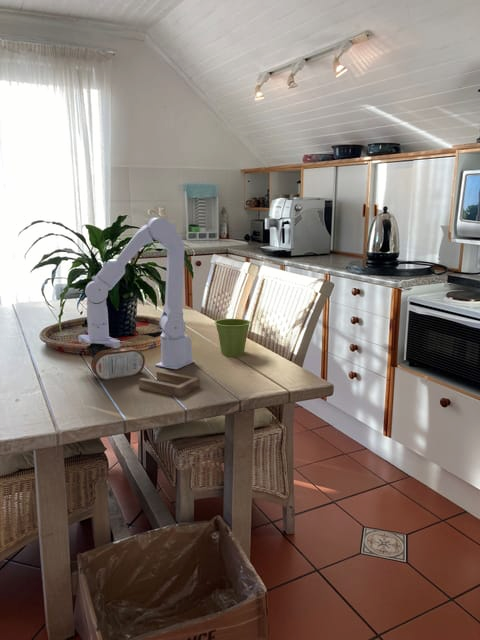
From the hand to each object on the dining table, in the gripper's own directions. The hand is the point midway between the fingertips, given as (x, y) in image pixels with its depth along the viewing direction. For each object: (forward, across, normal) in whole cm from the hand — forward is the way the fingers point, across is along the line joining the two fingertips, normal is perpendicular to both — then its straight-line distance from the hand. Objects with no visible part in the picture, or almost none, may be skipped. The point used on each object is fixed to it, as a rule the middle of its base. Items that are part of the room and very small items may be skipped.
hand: (100, 368), depth 153 cm
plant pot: (+2, +23, +36) cm, 43 cm away
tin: (+2, +7, 0) cm, 7 cm away
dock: (+1, +24, 0) cm, 24 cm away
